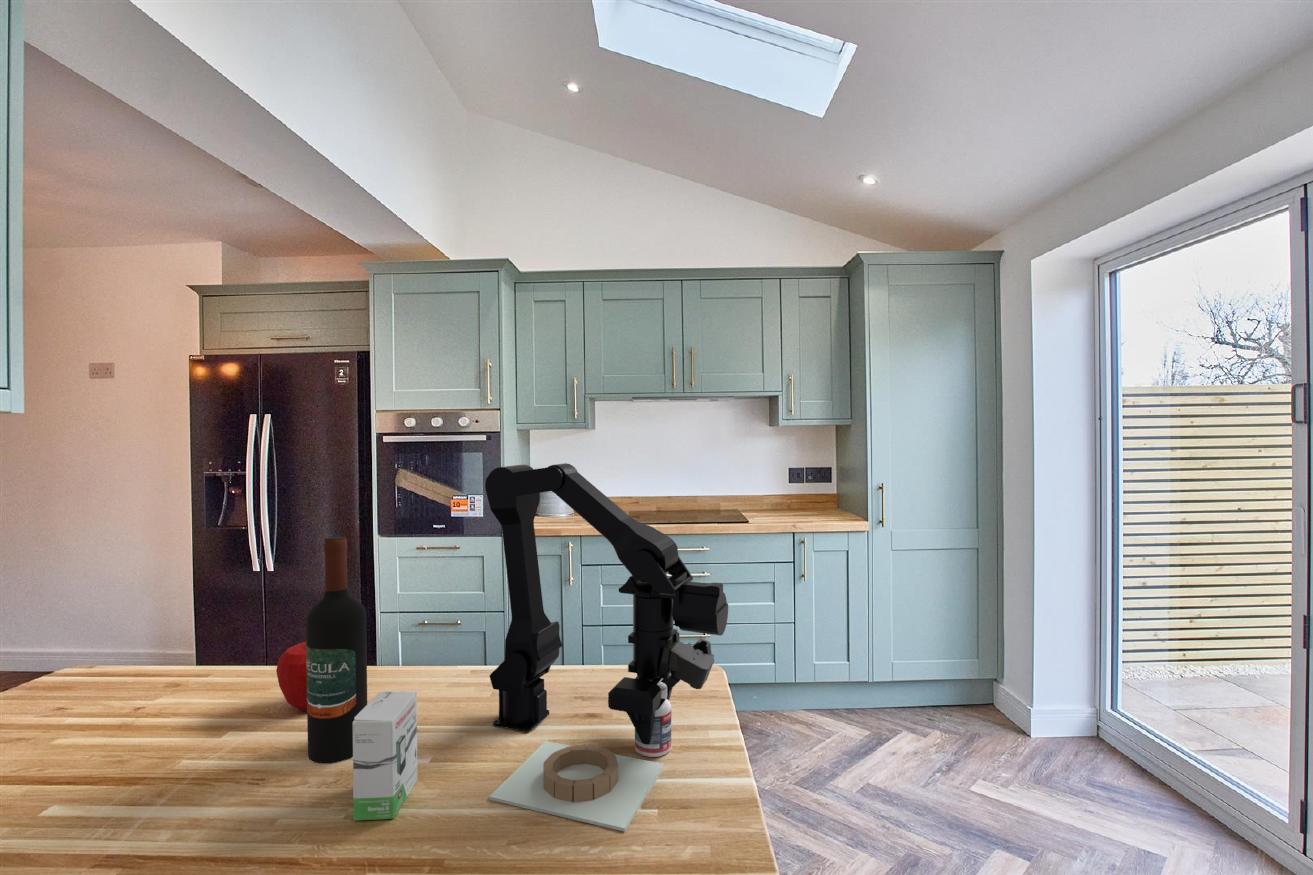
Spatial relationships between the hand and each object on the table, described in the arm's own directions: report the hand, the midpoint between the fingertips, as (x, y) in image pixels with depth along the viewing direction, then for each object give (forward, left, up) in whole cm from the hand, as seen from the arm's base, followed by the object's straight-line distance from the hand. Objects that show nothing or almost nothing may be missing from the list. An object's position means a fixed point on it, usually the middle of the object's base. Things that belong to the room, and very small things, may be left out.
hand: (652, 734), depth 89 cm
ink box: (-27, -22, -2) cm, 35 cm away
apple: (-57, -6, -2) cm, 57 cm away
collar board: (-6, -11, -2) cm, 13 cm away
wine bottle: (-42, -15, -2) cm, 45 cm away
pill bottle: (0, 0, -2) cm, 2 cm away
